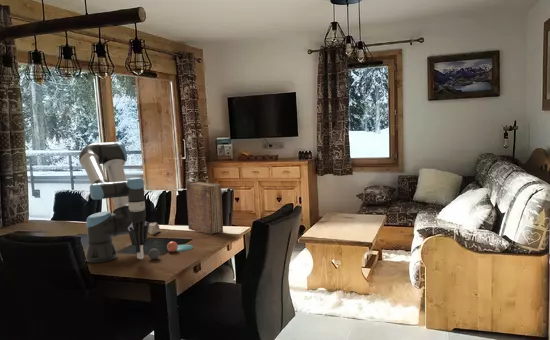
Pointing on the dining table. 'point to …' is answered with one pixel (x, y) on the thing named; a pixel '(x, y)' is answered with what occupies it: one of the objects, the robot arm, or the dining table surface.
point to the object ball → (172, 246)
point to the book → (204, 207)
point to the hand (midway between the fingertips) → (140, 258)
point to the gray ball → (154, 253)
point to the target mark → (184, 248)
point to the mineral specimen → (153, 228)
